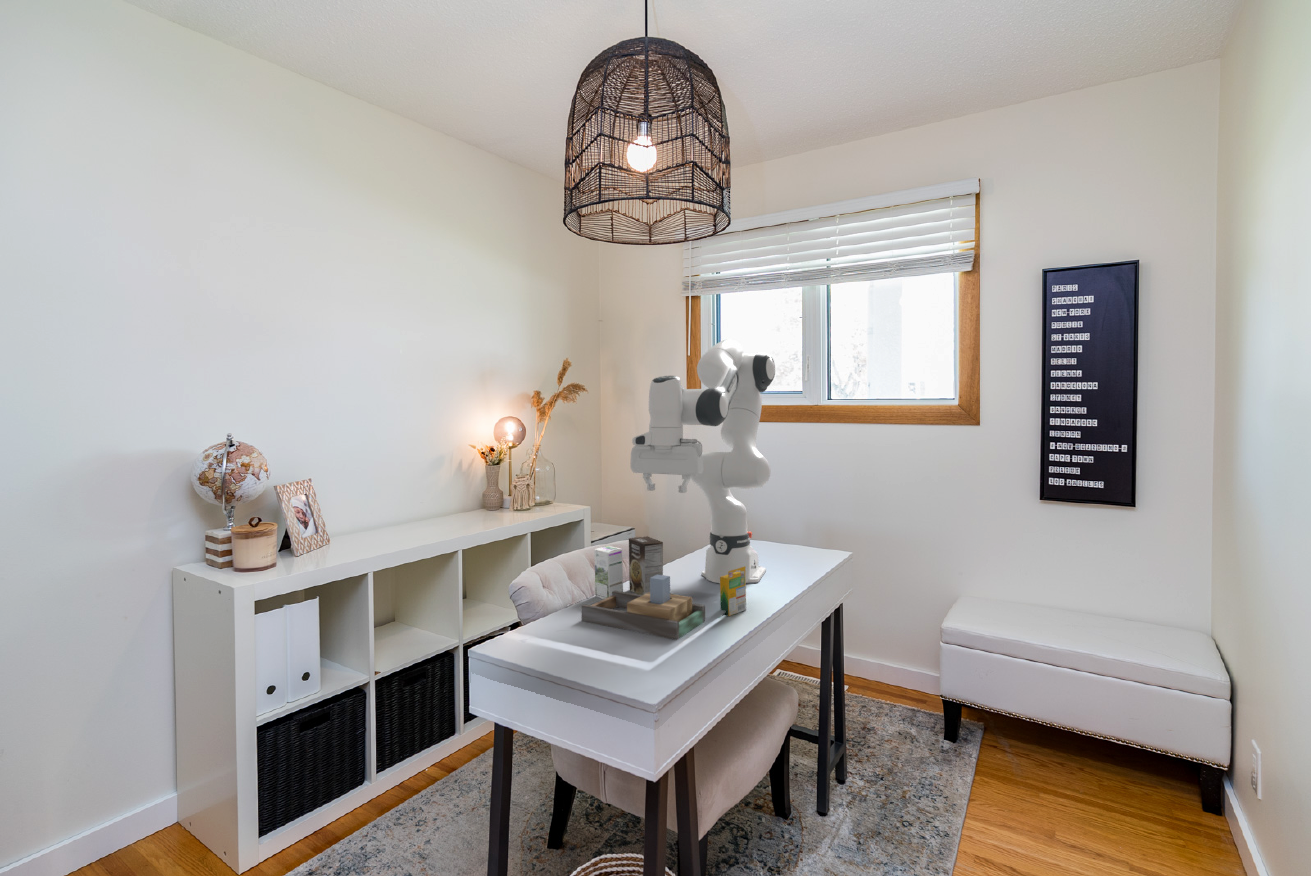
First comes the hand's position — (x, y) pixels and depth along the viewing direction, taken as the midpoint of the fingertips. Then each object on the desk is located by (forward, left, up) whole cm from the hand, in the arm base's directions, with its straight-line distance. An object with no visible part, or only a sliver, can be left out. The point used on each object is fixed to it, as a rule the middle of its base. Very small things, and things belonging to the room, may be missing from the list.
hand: (666, 491), depth 167 cm
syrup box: (+1, -18, -31) cm, 36 cm away
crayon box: (-6, +16, -31) cm, 36 cm away
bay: (+14, +1, -31) cm, 34 cm away
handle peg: (+14, +6, -28) cm, 32 cm away
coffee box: (-7, -11, -31) cm, 34 cm away
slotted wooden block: (+14, +6, -30) cm, 33 cm away
